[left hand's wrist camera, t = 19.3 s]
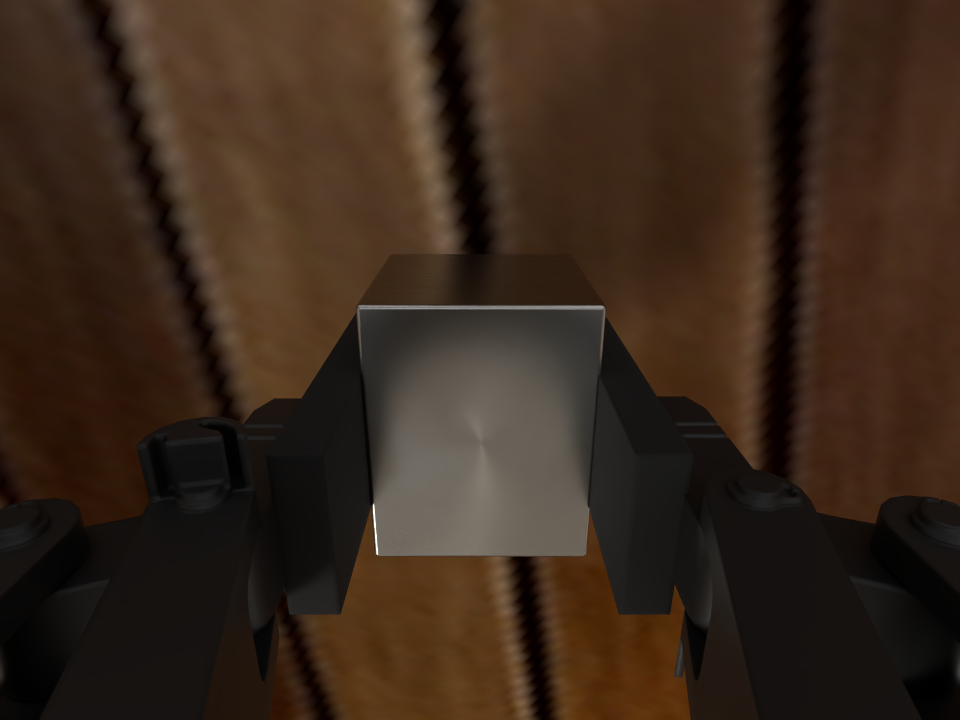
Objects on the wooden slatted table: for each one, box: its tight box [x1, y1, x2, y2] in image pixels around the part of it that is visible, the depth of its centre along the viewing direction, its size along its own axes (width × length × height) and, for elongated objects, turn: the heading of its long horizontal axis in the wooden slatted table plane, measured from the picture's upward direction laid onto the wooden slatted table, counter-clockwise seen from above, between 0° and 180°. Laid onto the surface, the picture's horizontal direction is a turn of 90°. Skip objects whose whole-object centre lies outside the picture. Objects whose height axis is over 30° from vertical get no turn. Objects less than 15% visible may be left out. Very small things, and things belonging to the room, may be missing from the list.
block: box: [356, 254, 606, 556], centre depth 13 cm, size 5×4×4 cm
